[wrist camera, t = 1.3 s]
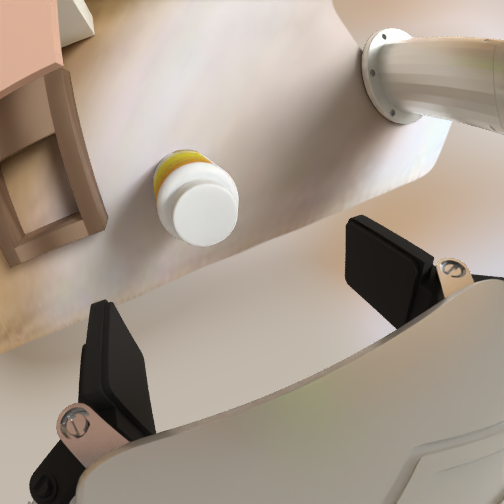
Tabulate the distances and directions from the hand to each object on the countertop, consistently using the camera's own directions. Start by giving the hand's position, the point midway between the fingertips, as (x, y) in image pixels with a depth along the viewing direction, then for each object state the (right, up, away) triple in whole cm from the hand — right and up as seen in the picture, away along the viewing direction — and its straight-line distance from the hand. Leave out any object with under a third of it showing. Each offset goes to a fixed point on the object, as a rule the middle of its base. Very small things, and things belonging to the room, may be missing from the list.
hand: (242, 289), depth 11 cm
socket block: (-19, +9, +9) cm, 22 cm away
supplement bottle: (-6, +8, +15) cm, 18 cm away
